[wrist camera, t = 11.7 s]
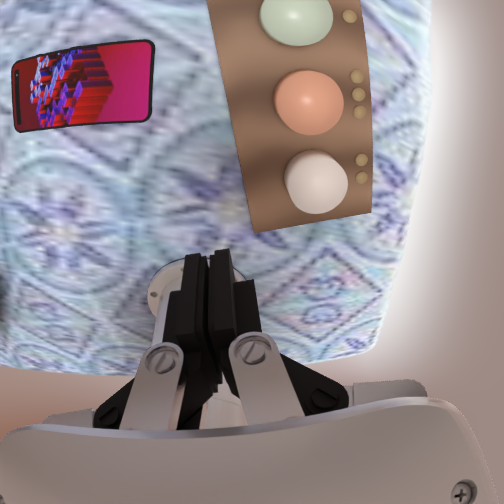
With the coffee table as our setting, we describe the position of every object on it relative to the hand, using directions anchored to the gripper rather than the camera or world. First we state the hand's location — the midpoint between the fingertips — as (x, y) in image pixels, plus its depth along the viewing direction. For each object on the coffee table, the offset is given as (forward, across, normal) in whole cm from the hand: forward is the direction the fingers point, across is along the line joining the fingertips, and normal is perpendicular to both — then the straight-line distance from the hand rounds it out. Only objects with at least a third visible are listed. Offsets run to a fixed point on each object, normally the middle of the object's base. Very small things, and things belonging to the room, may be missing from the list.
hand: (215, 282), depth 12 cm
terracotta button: (+15, -8, -5) cm, 18 cm away
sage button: (+15, -7, -12) cm, 20 cm away
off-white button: (+16, -8, +2) cm, 18 cm away
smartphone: (+18, +12, -10) cm, 24 cm away
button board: (+17, -8, -5) cm, 20 cm away
